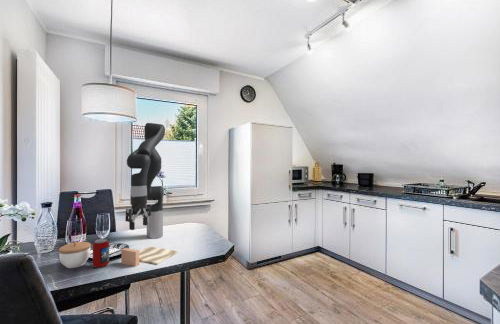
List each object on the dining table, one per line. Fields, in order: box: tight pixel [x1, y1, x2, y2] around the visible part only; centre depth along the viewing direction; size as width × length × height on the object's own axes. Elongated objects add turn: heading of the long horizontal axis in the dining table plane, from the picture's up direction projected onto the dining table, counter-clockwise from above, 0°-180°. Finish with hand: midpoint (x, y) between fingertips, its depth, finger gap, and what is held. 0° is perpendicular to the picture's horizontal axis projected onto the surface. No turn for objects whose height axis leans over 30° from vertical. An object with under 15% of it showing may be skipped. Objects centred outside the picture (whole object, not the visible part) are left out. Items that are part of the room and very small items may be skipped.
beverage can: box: [92, 238, 110, 268], centre depth 116 cm, size 7×7×12 cm
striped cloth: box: [139, 246, 179, 266], centre depth 128 cm, size 20×16×1 cm
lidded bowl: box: [58, 241, 92, 269], centre depth 117 cm, size 13×13×11 cm
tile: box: [120, 247, 140, 267], centre depth 118 cm, size 9×2×7 cm, turn 70°
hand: (138, 227), depth 120 cm, fingers open, 8 cm apart
